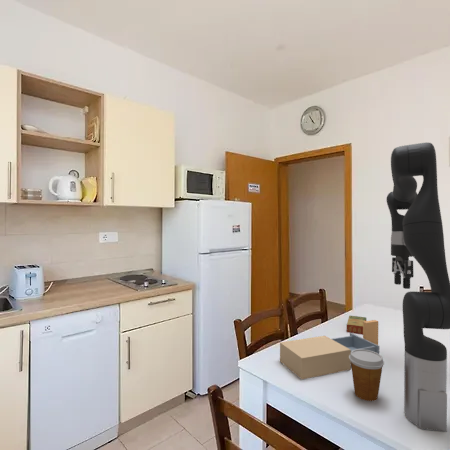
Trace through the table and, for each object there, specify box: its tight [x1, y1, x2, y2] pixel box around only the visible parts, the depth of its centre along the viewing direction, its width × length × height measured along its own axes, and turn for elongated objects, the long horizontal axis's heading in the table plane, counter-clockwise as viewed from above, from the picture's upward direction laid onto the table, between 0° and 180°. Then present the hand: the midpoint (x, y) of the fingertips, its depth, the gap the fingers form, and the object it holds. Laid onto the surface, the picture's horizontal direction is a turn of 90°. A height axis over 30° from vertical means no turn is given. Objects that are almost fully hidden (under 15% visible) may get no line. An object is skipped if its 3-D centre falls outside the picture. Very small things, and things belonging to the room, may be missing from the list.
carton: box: [346, 315, 368, 336], centre depth 149 cm, size 8×16×4 cm, turn 154°
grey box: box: [331, 319, 380, 354], centre depth 115 cm, size 26×14×12 cm, turn 110°
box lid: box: [279, 335, 352, 380], centre depth 110 cm, size 20×14×7 cm
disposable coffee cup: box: [349, 349, 385, 402], centre depth 91 cm, size 10×10×12 cm
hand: (401, 286), depth 116 cm, fingers open, 8 cm apart
